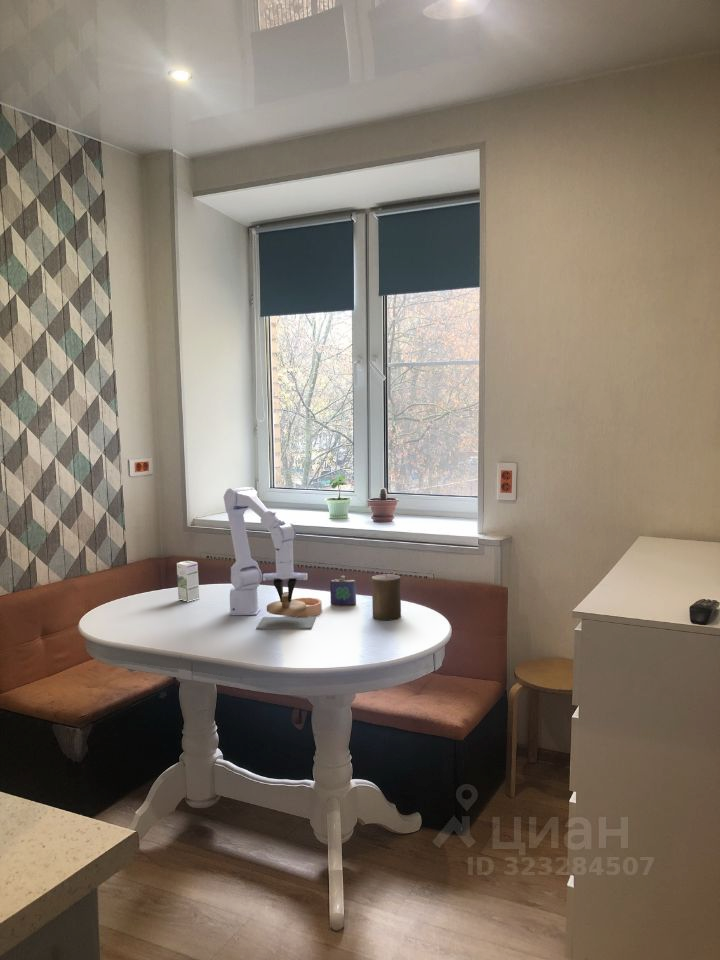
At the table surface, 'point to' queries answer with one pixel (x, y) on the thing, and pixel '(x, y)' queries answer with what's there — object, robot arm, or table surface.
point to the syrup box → (188, 580)
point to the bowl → (309, 607)
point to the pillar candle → (386, 596)
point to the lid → (286, 606)
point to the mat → (286, 623)
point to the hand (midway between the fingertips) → (285, 601)
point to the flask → (343, 592)
